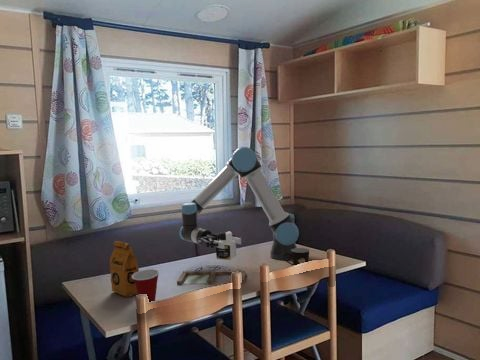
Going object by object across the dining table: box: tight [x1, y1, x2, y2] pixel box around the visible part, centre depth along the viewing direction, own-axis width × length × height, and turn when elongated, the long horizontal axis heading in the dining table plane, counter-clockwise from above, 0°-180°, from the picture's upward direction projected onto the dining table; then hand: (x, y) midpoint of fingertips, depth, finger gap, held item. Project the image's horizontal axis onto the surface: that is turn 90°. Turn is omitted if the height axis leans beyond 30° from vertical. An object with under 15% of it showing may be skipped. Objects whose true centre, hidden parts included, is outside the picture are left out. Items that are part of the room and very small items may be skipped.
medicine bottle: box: [215, 230, 237, 261], centre depth 190 cm, size 7×7×12 cm
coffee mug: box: [283, 247, 310, 266], centre depth 199 cm, size 12×9×10 cm
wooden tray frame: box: [176, 269, 246, 286], centre depth 192 cm, size 30×14×2 cm, turn 87°
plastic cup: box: [132, 268, 160, 302], centre depth 166 cm, size 11×11×12 cm
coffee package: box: [109, 240, 140, 298], centre depth 177 cm, size 10×12×22 cm
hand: (232, 243), depth 186 cm, fingers closed on medicine bottle, 9 cm apart
